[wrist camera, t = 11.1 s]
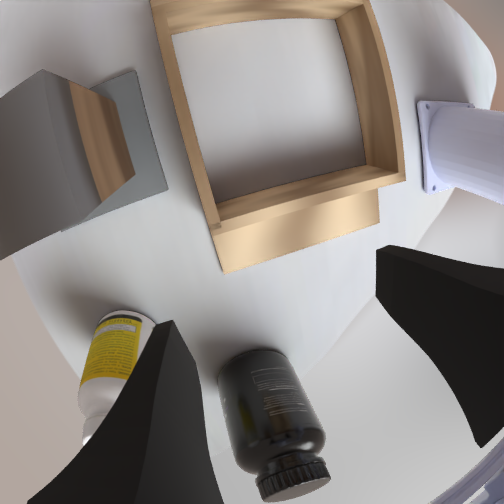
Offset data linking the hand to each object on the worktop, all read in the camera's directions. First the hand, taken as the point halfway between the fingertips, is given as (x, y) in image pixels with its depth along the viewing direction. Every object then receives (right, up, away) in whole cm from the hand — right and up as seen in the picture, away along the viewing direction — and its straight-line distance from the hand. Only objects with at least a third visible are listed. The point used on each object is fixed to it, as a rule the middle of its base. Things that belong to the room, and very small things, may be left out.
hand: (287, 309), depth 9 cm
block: (-10, +7, +4) cm, 13 cm away
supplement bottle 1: (-10, -4, +10) cm, 15 cm away
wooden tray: (0, +11, +6) cm, 13 cm away
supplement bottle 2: (-1, -9, +14) cm, 17 cm away
